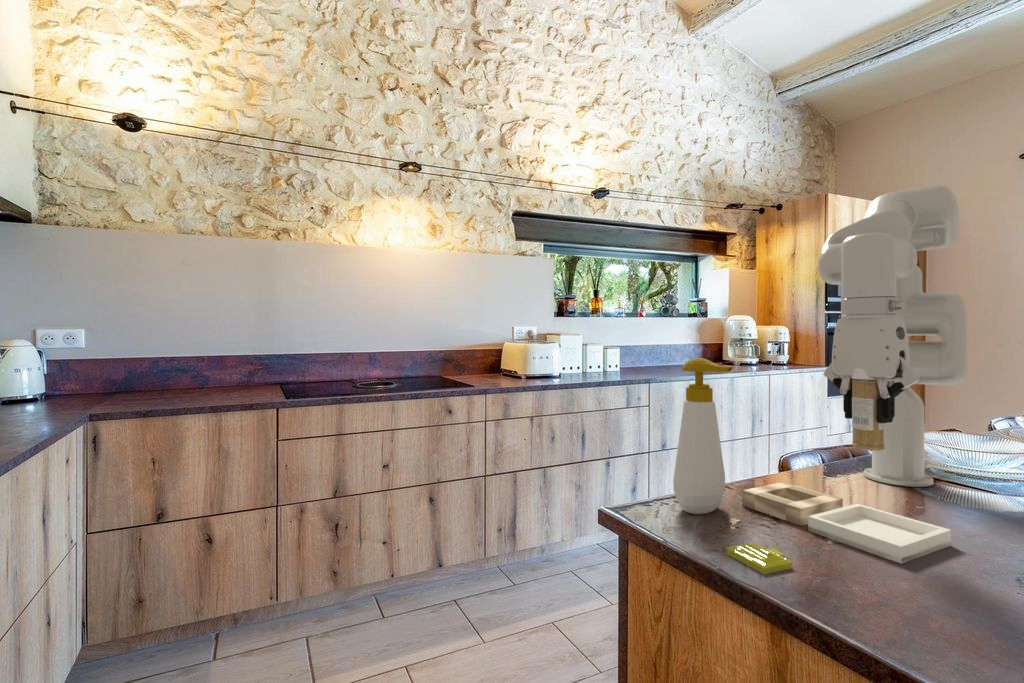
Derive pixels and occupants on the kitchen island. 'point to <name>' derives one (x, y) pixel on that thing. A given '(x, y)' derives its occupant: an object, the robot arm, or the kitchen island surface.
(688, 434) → the soap bottle
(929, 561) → the kitchen island surface
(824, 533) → the tray
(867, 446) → the sprinkles bottle
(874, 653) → the kitchen island surface
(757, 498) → the socket holder
